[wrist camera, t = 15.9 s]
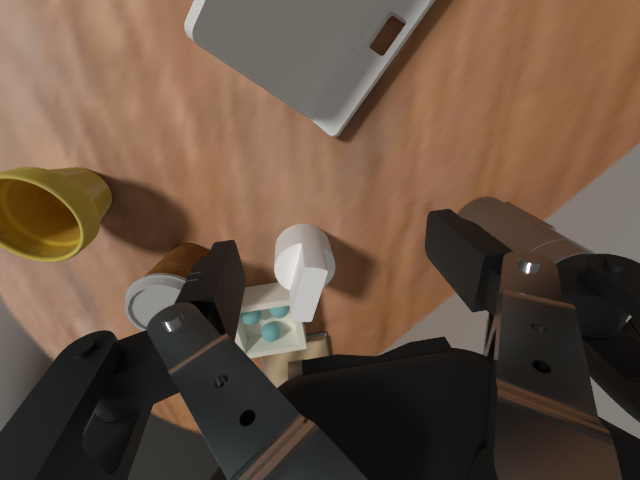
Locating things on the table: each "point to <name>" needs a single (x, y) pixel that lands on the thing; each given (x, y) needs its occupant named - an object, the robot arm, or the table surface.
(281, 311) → the ball
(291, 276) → the white knob
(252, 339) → the box
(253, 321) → the ball
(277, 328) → the ball
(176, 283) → the disposable coffee cup
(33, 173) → the plant pot
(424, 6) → the tablet stand
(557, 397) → the robot arm
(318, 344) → the lid
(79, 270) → the table surface
